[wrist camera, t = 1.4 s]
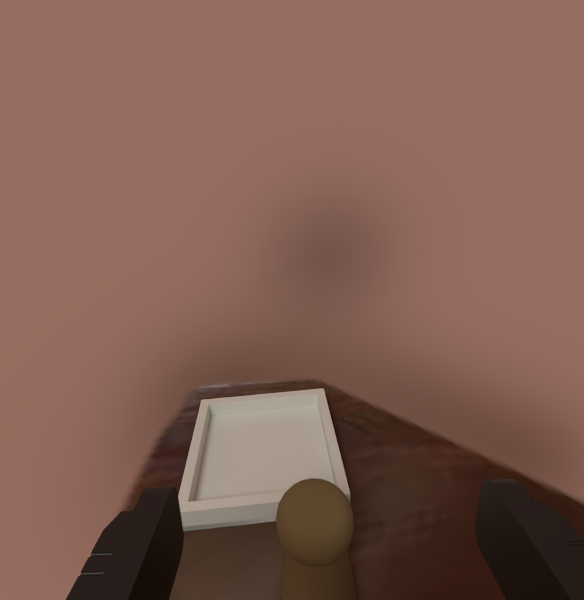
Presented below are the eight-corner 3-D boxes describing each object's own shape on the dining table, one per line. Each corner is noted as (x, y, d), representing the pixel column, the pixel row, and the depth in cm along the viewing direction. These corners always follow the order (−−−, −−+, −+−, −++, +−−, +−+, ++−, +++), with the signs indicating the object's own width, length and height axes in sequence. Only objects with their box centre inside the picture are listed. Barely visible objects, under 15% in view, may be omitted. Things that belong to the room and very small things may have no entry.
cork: (321, 546, 32) (317, 450, 28) (375, 608, 27) (381, 505, 23) (264, 597, 29) (249, 497, 24) (315, 677, 24) (309, 571, 20)
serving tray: (323, 403, 49) (323, 388, 48) (350, 512, 35) (350, 493, 34) (204, 415, 49) (201, 399, 48) (179, 531, 34) (174, 513, 33)
